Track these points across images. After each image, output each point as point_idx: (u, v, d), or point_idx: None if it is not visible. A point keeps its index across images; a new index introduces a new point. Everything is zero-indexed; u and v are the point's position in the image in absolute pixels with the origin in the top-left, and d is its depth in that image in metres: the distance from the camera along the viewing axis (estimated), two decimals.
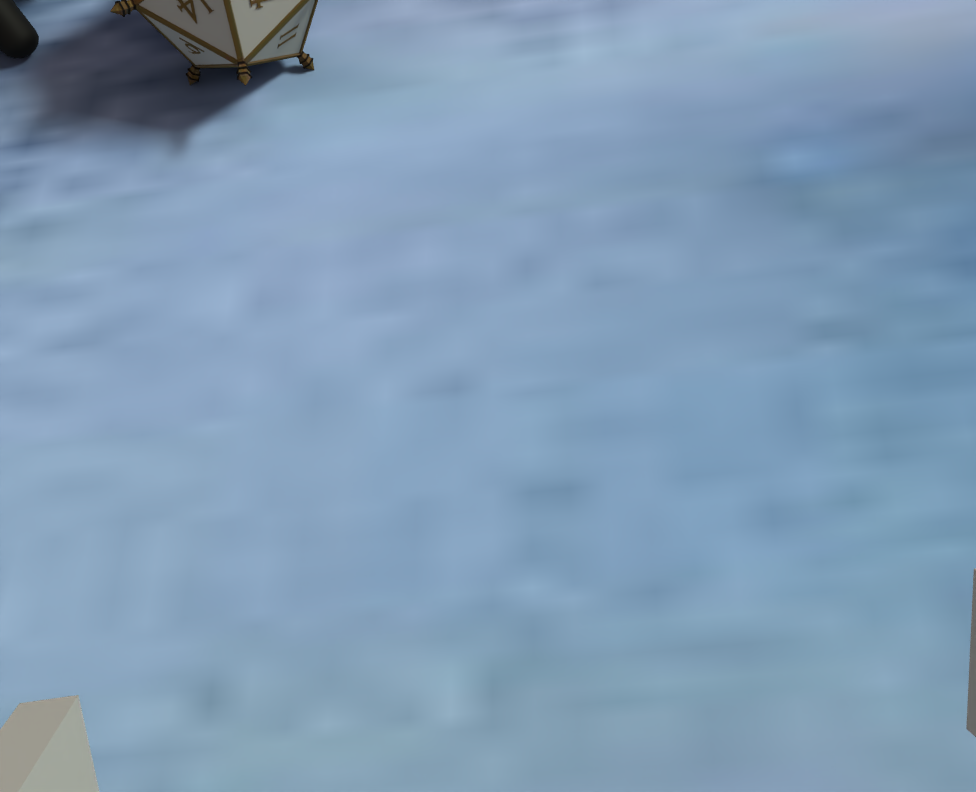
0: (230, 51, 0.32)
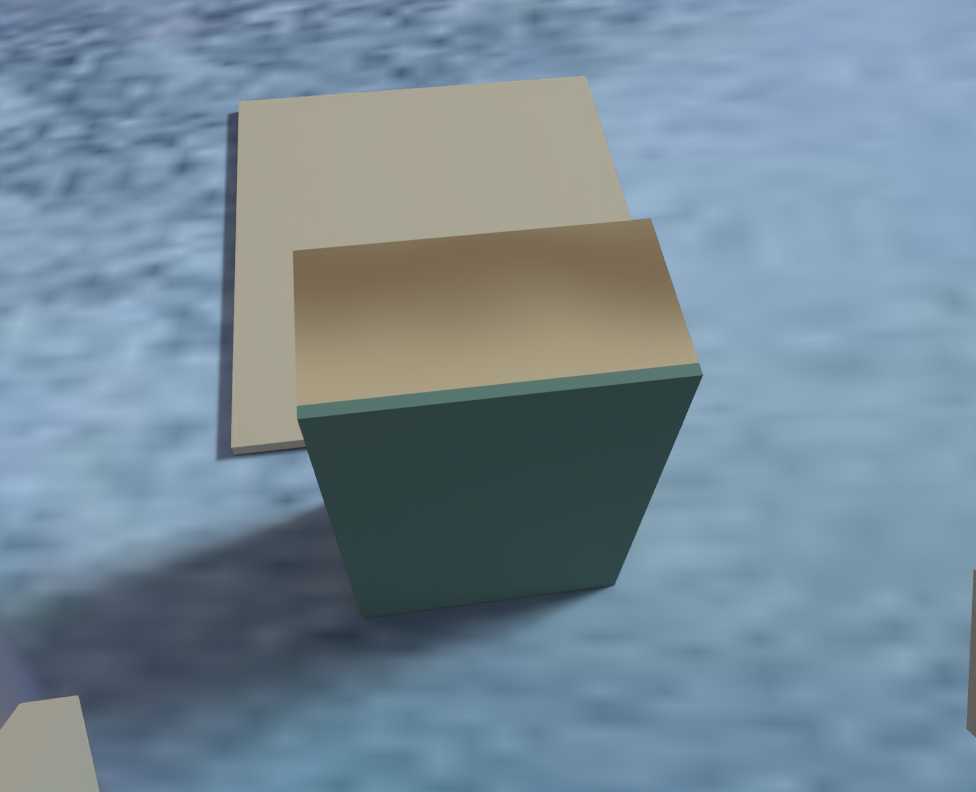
0: None
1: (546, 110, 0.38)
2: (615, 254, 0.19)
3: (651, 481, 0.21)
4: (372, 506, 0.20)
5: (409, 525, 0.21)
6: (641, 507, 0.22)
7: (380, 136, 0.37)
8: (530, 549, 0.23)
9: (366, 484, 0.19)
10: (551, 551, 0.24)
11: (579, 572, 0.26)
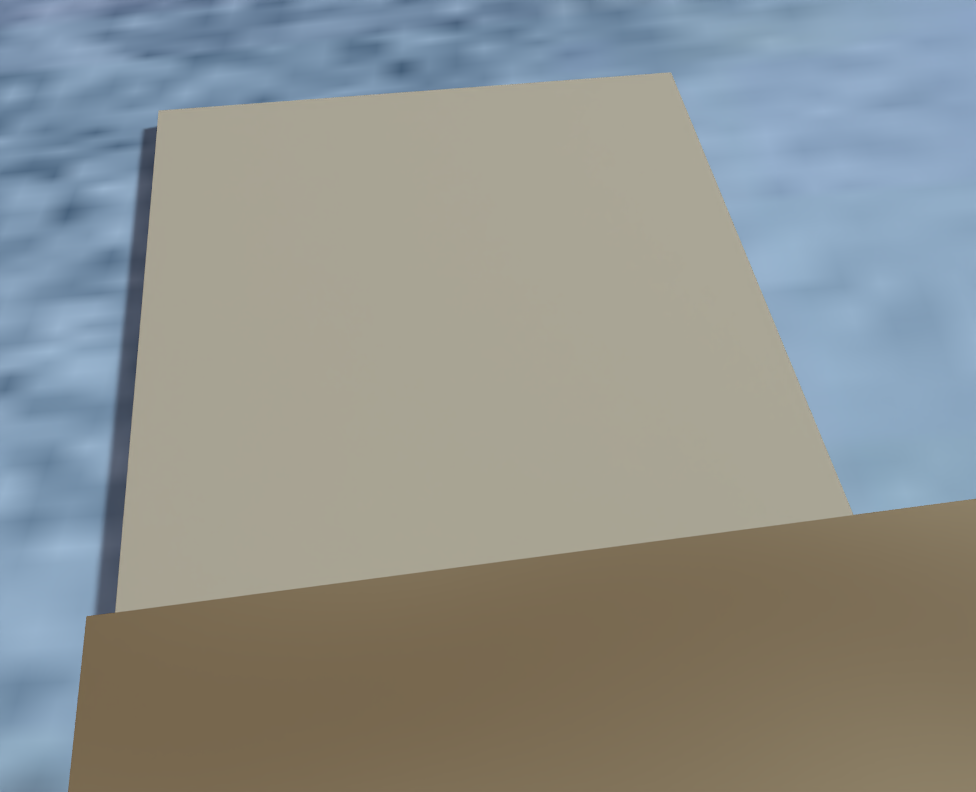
0: None
1: (617, 123, 0.26)
2: None
3: None
4: None
5: None
6: None
7: (371, 163, 0.25)
8: None
9: None
10: None
11: None
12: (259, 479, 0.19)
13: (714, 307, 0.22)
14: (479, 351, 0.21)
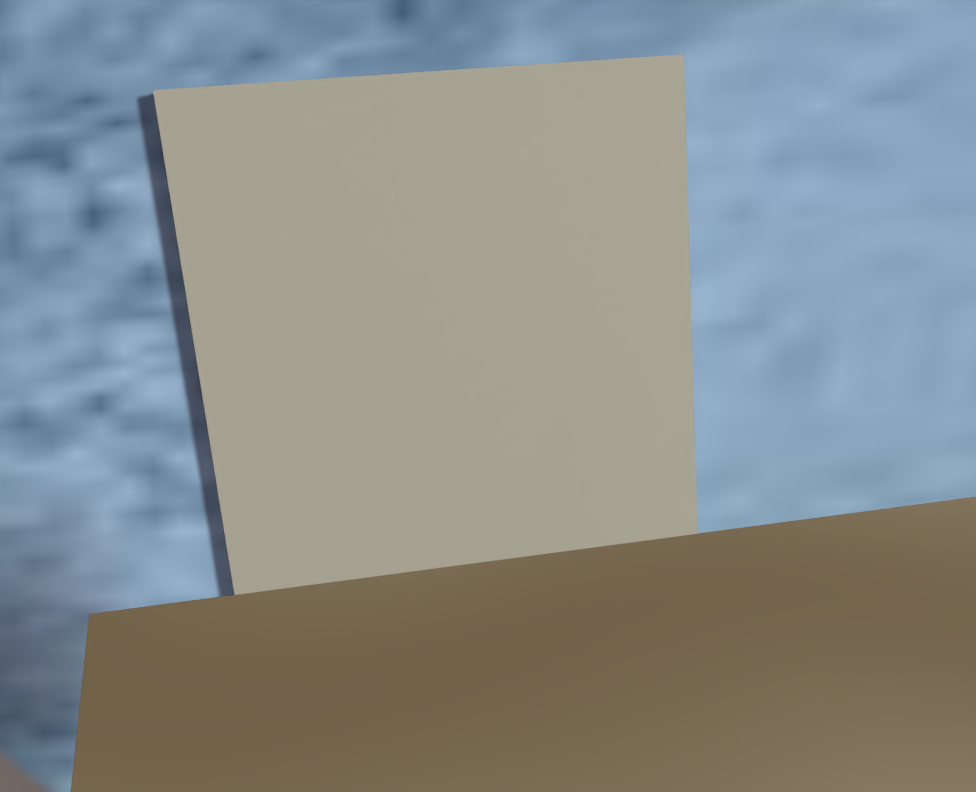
0: None
1: (615, 133, 0.27)
2: None
3: None
4: None
5: None
6: None
7: (377, 180, 0.26)
8: None
9: None
10: None
11: None
12: (311, 497, 0.28)
13: (651, 358, 0.28)
14: (467, 396, 0.28)
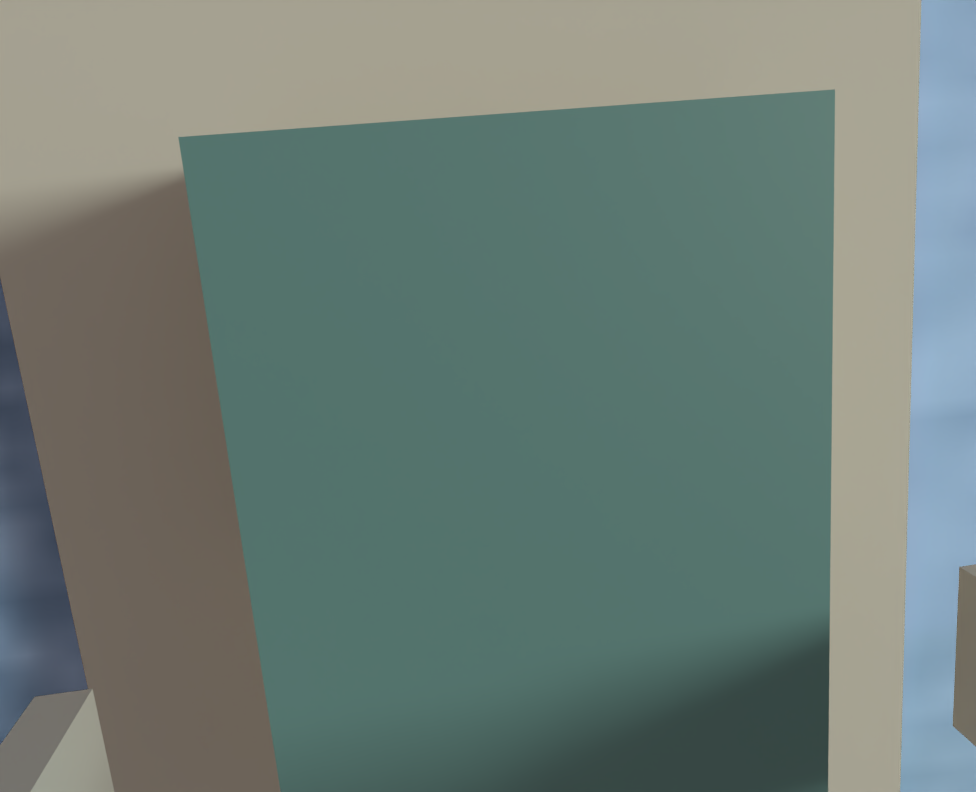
0: None
1: (797, 83, 0.15)
2: None
3: (819, 445, 0.12)
4: (315, 472, 0.11)
5: (388, 560, 0.11)
6: (819, 548, 0.12)
7: None
8: (633, 698, 0.12)
9: (301, 384, 0.11)
10: (675, 713, 0.12)
11: None
12: (258, 719, 0.16)
13: (841, 473, 0.17)
14: None
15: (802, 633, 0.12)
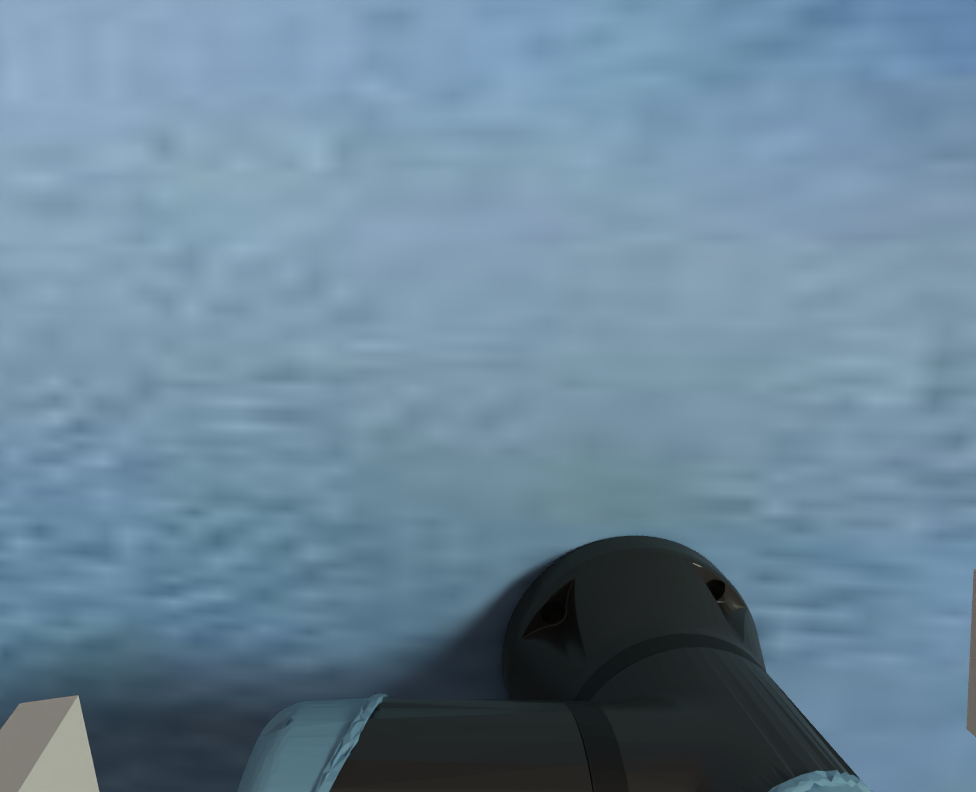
0: None
1: None
2: None
3: None
4: None
5: None
6: None
7: None
8: None
9: None
10: None
11: None
12: None
13: None
14: None
15: None
